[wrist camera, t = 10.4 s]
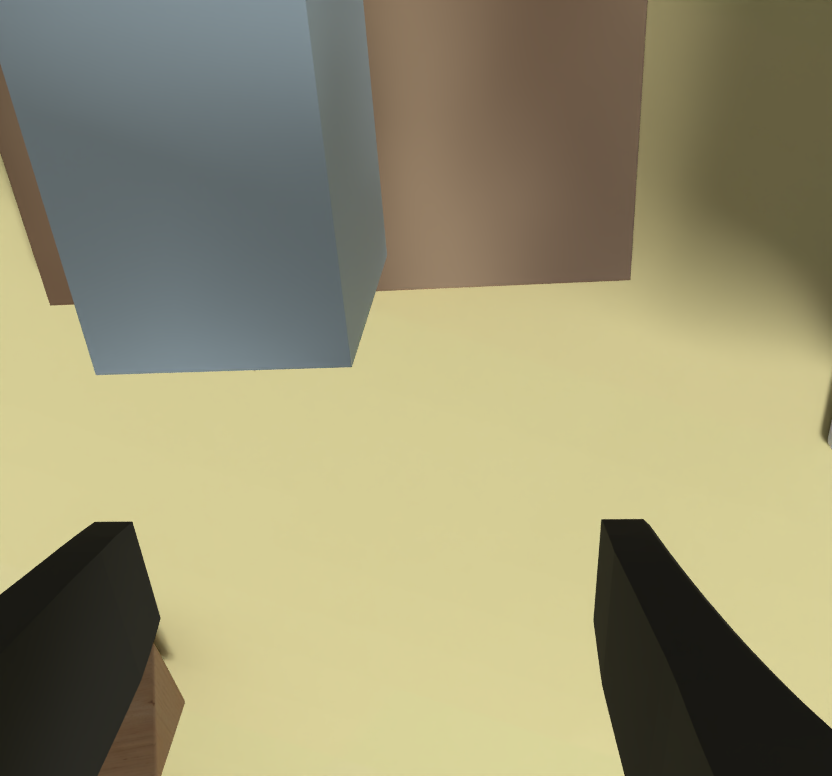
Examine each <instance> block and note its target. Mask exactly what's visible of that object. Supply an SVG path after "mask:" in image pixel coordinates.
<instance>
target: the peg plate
mask: <svg viewBox="0 0 832 776" xmlns="http://www.w3.org/2000/svg"><path fill="white" fill-rule="evenodd" d="M647 2H648V0H363V5H364V15H365V26H366V36H367V47H368V58H369V68H370V79H371V90H372V100H373V111H374V121H375V132H376V143H377V153H378V164H379V175H380V185H381V196H382V206H383V217H384V228H385V238H386V249H387V257H386V260H385V264H384V267H383V270H382V273H381V276H380V279H379V282H378V286H377V289H376V291H391V290H414V289H436V288H459V287H482V286H505V285H528V284H551V283H573V282H596V281H619V280H630V277H631V261H632V245H633V229H634V212H635V196H636V180H637V164H638V148H639V132H640V115H641V99H642V83H643V67H644V51H645V34H646V18H647ZM0 153H1V156H2V159H3V162H4V165H5V168H6V171H7V174H8V177H9V180H10V184H11V187H12V190H13V193H14V196H15V199H16V202H17V205H18V208H19V211H20V214H21V217H22V220H23V223H24V226H25V229H26V232H27V236H28V239H29V242H30V245H31V248H32V251H33V254H34V257H35V260H36V263H37V266H38V269H39V272H40V275H41V278H42V281H43V284H44V288H45V291H46V294H47V297H48V300H49V303H50V305H72V304H74V302H73V298H72V295H71V292H70V289H69V285H68V282H67V279H66V276H65V272H64V269H63V266H62V263H61V259H60V256H59V253H58V250H57V246H56V243H55V240H54V237H53V233H52V230H51V227H50V224H49V220H48V217H47V214H46V211H45V207H44V204H43V201H42V198H41V194H40V191H39V188H38V185H37V181H36V178H35V175H34V172H33V168H32V165H31V162H30V159H29V155H28V152H27V149H26V146H25V142H24V139H23V136H22V133H21V129H20V126H19V123H18V120H17V116H16V113H15V110H14V106H13V103H12V100H11V97H10V93H9V90H8V87H7V84H6V80H5V77H4V74H3V71H2V67H1V64H0Z"/></svg>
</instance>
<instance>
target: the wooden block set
mask: <svg viewBox="0 0 832 776" xmlns="http://www.w3.org/2000/svg"><path fill="white" fill-rule="evenodd" d="M184 704H185V701H184V699H183V697H182V695H181V693H180V691H179V689H178V687H177V685H176V684H175V682H174V680H173V678H172V676H171V674H170V672H169V670H168V668H167V666H166V665H165V663H164V661H163V659H162V657H161V655H160V653H159V651H158V649H157V647H156V646H155V644H154V643H153V646H152V649H151V652H150V655H149V658H148V662H147V665H146V668H145V671H144V674H143V677H142V680H141V682H140V684H139V687H138V689H137V691H136V693H135V696H134V698H133V700H132V702H131V704H130V707H129V709H128V711H127V713H126V715H125V718H124V720H123V722H122V724H121V726H120V729H119V731H118V733H117V735H116V737H115V739H114V742H113V744H112V746H111V748H110V750H109V752H108V754H107V757H106V759H105V761H104V763H103V765H102V767H101V770H100V772H99V774H98V776H161V774H162V771H163V768H164V765H165V762H166V759H167V756H168V753H169V750H170V747H171V744H172V741H173V737H174V734H175V731H176V728H177V725H178V722H179V719H180V716H181V713H182V710H183V707H184Z"/></svg>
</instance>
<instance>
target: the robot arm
mask: <svg viewBox="0 0 832 776" xmlns="http://www.w3.org/2000/svg"><path fill="white" fill-rule="evenodd" d="M828 444H829V446H830V448H831V449H832V421H831V426H830V431H829V435H828ZM159 622H160V615H159V611H158V608H157V604H156V601H155V598H154V594H153V591H152V587H151V584H150V580H149V577H148V574H147V570H146V567H145V563H144V560H143V556H142V553H141V550H140V546H139V543H138V539H137V536H136V533H135V529H134V526H133V522H94V523H93V524H91V525H90V526H88V527H87V528H86V529H84V530H83V531H81V532H80V533H79V534H77V535H76V536H75V537H73V538H72V539H71V540H69V541H68V542H67V543H65V544H64V545H63V546H62V547H60V548H59V549H58V550H57V551H55V552H54V553H53V554H51V555H50V556H49V557H48V558H46V559H45V560H44V561H43V562H41V563H40V564H39V565H37V566H36V567H35V568H34V569H32V570H31V571H30V572H29V573H27V574H26V575H25V576H24V577H22V578H21V579H20V580H18V581H17V582H16V583H15V584H13V585H12V586H11V587H9V588H8V589H7V590H5V591H4V592H3V593H2V594H0V776H98V774H99V772H100V770H101V767H102V765H103V763H104V761H105V759H106V757H107V754H108V752H109V750H110V748H111V746H112V744H113V742H114V739H115V737H116V735H117V733H118V731H119V729H120V726H121V724H122V722H123V720H124V718H125V715H126V713H127V711H128V709H129V707H130V704H131V702H132V700H133V698H134V696H135V693H136V691H137V689H138V687H139V684H140V682H141V680H142V677H143V674H144V671H145V668H146V665H147V662H148V658H149V655H150V652H151V649H152V646H153V642H154V639H155V635H156V632H157V629H158V625H159ZM594 628H595V636H596V644H597V651H598V659H599V666H600V673H601V680H602V686H603V690H604V695H605V699H606V703H607V707H608V711H609V715H610V719H611V723H612V727H613V731H614V735H615V739H616V743H617V747H618V751H619V755H620V759H621V763H622V767H623V771H624V774H625V776H832V729H831V728H830V727H829V726H828V725H827V724H826V723H825V722H824V721H823V720H822V719H820V718H819V717H818V716H817V715H816V714H815V713H814V712H813V711H812V710H811V709H809V708H808V707H807V706H806V705H805V704H804V703H803V702H802V701H801V700H800V699H799V698H798V697H797V696H796V695H795V694H794V693H793V692H792V691H791V690H790V689H789V688H788V687H787V686H786V685H785V684H784V683H783V682H782V681H781V680H780V679H779V678H778V677H777V676H776V675H775V674H774V673H773V672H772V671H771V670H770V669H769V668H768V667H767V666H766V665H765V664H764V663H763V662H762V661H761V660H760V659H759V658H758V657H757V656H756V654H755V653H754V652H753V651H752V650H751V649H750V648H749V647H748V646H747V645H746V644H745V643H744V642H743V640H742V639H741V638H740V637H739V636H738V635H737V634H736V633H735V632H734V631H733V629H732V628H731V627H730V626H729V625H728V624H727V622H726V621H725V620H724V619H723V618H722V617H721V615H720V614H719V613H718V612H717V611H716V610H715V608H714V607H713V606H712V605H711V604H710V603H709V601H708V600H707V599H706V598H705V597H704V595H703V594H702V593H701V592H700V591H699V589H698V588H697V587H696V586H695V584H694V583H693V582H692V581H691V579H690V578H689V577H688V576H687V574H686V573H685V572H684V571H683V569H682V568H681V567H680V565H679V564H678V563H677V562H676V560H675V559H674V558H673V556H672V555H671V554H670V552H669V551H668V550H667V548H666V547H665V546H664V544H663V543H662V541H661V540H660V539H659V537H658V536H657V535H656V533H655V532H654V530H653V529H652V528H651V526H650V525H649V524H648V523H647V522H646V521H645V520H644V519H601V532H600V545H599V557H598V570H597V583H596V595H595V608H594Z"/></svg>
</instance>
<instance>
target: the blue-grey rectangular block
mask: <svg viewBox="0 0 832 776" xmlns="http://www.w3.org/2000/svg"><path fill="white" fill-rule="evenodd" d="M0 64H1V67H2V71H3V74H4V77H5V80H6V84H7V87H8V90H9V93H10V97H11V100H12V103H13V106H14V110H15V113H16V116H17V120H18V123H19V126H20V129H21V133H22V136H23V139H24V142H25V146H26V149H27V152H28V155H29V159H30V162H31V165H32V168H33V172H34V175H35V178H36V181H37V185H38V188H39V191H40V194H41V198H42V201H43V204H44V207H45V211H46V214H47V217H48V220H49V224H50V227H51V230H52V233H53V237H54V240H55V243H56V246H57V250H58V253H59V256H60V259H61V263H62V266H63V269H64V272H65V276H66V279H67V282H68V285H69V289H70V292H71V295H72V298H73V302H74V305H75V308H76V311H77V315H78V318H79V321H80V324H81V328H82V331H83V334H84V338H85V341H86V344H87V347H88V351H89V354H90V357H91V360H92V364H93V367H94V370H95V373H96V375H111V374H143V373H175V372H207V371H239V370H272V369H304V368H336V367H352V365H353V361H354V358H355V355H356V352H357V349H358V346H359V342H360V339H361V336H362V333H363V330H364V327H365V324H366V320H367V317H368V314H369V311H370V308H371V305H372V301H373V298H374V295H375V292H376V289H377V286H378V282H379V279H380V276H381V273H382V270H383V267H384V264H385V260H386V257H387V249H386V238H385V228H384V217H383V206H382V196H381V185H380V175H379V164H378V153H377V143H376V132H375V121H374V111H373V100H372V90H371V79H370V68H369V58H368V47H367V36H366V26H365V15H364V5H363V0H0Z"/></svg>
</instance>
